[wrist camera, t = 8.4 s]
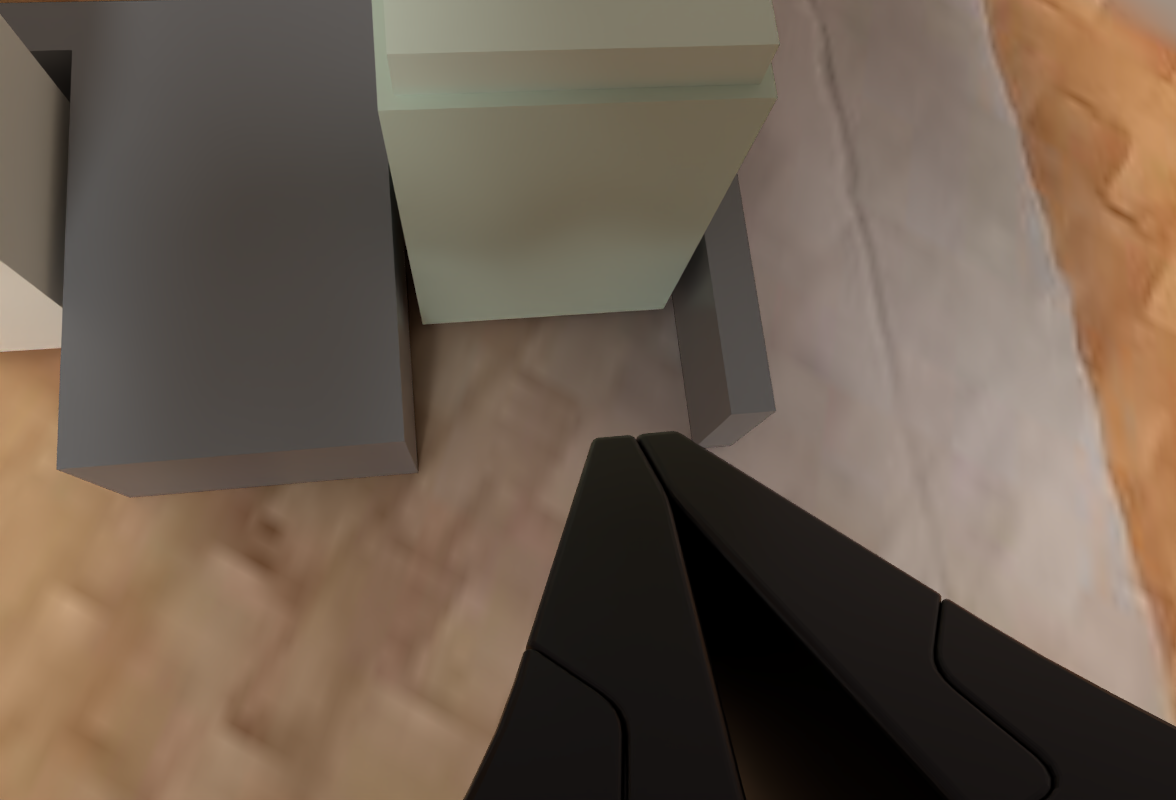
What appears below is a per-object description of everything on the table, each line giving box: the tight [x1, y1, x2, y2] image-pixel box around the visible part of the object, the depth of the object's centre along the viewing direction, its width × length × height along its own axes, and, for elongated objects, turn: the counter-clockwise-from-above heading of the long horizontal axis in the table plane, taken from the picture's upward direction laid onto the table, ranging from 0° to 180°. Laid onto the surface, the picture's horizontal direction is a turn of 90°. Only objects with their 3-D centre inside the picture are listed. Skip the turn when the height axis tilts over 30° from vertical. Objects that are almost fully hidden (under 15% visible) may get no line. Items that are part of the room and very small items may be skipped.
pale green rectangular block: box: [372, 0, 780, 324], centre depth 15 cm, size 4×5×8 cm
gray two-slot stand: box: [0, 0, 776, 497], centre depth 17 cm, size 9×18×3 cm, turn 96°
